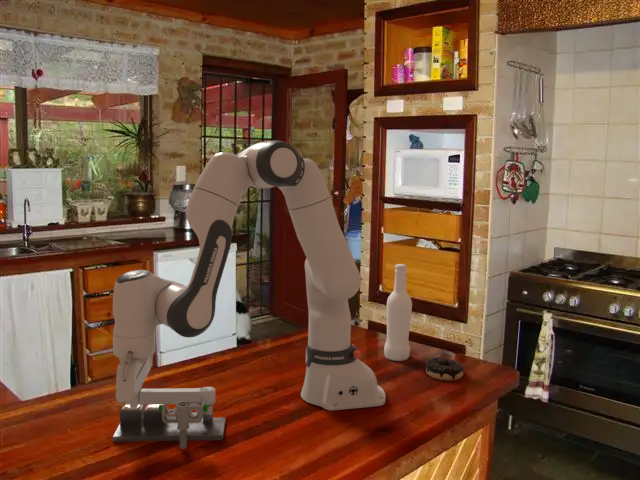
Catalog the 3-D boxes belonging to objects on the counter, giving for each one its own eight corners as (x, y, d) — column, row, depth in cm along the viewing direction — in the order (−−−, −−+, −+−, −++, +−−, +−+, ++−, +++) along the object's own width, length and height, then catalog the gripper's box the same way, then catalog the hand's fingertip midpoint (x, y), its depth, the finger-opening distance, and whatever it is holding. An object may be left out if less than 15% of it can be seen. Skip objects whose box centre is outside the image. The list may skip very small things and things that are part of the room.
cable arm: (215, 399, 147) (215, 386, 147) (214, 406, 144) (214, 392, 143) (119, 400, 145) (119, 386, 145) (115, 407, 142) (115, 392, 141)
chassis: (225, 422, 148) (225, 400, 147) (222, 440, 139) (222, 416, 139) (122, 423, 146) (121, 400, 145) (113, 441, 137) (112, 417, 137)
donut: (425, 380, 179) (426, 367, 178) (424, 366, 190) (425, 353, 190) (465, 383, 177) (465, 370, 177) (461, 369, 189) (462, 356, 188)
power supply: (166, 418, 147) (166, 403, 146) (164, 425, 143) (163, 410, 142) (147, 418, 147) (146, 403, 146) (143, 426, 143) (143, 410, 142)
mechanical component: (160, 444, 137) (160, 401, 135) (207, 443, 138) (207, 400, 136) (158, 451, 134) (157, 407, 132) (206, 450, 135) (206, 406, 133)
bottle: (408, 362, 192) (413, 267, 188) (382, 360, 194) (386, 266, 189) (410, 354, 200) (415, 263, 196) (385, 352, 202) (389, 261, 197)
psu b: (143, 418, 146) (143, 403, 146) (140, 426, 143) (140, 410, 142) (124, 418, 146) (123, 403, 145) (120, 426, 142) (119, 410, 142)
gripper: (139, 361, 126) (139, 425, 128) (157, 331, 146) (157, 387, 148) (107, 361, 125) (108, 426, 127) (129, 330, 145) (130, 387, 147)
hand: (134, 404), depth 138 cm, fingers closed
